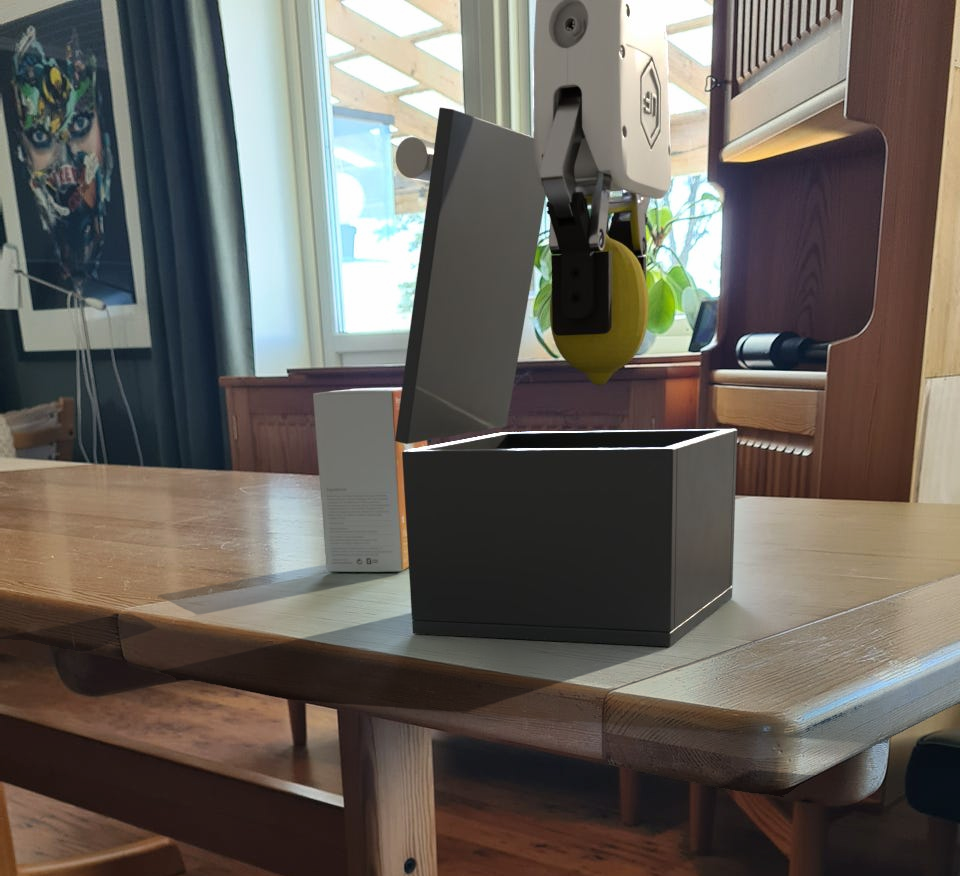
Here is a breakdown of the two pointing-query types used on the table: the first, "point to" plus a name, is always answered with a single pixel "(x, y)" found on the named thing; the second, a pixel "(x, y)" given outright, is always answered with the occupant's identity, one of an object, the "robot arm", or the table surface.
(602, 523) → the chest
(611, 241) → the lemon
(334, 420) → the small box
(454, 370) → the lid
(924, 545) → the table surface
